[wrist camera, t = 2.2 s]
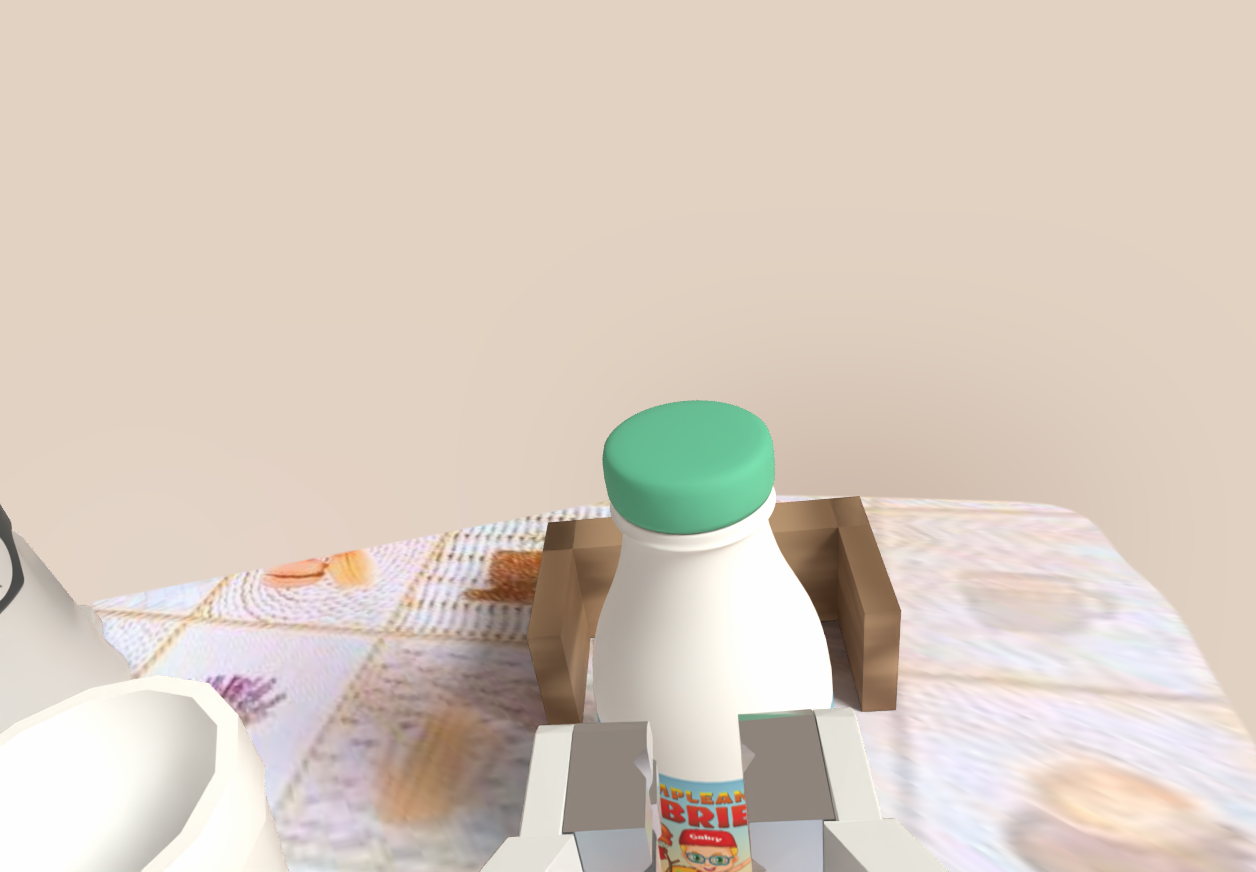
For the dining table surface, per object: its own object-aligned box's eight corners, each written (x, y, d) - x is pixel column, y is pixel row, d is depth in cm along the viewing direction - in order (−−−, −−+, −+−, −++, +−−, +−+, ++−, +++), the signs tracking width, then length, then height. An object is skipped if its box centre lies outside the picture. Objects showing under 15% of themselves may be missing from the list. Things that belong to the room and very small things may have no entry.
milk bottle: (625, 806, 36) (542, 391, 26) (804, 778, 36) (792, 353, 26) (643, 1002, 29) (540, 545, 19) (863, 968, 29) (877, 494, 19)
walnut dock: (550, 731, 40) (526, 637, 37) (566, 608, 47) (548, 522, 44) (896, 709, 38) (900, 610, 35) (857, 586, 45) (859, 496, 42)
